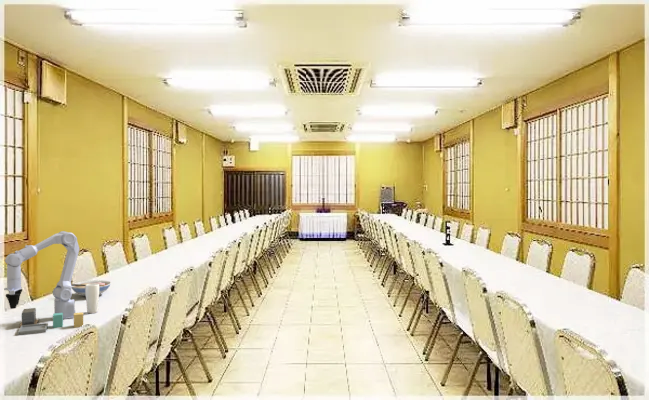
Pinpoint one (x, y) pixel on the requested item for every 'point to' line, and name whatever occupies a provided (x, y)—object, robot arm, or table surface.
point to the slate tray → (33, 328)
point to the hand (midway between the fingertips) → (14, 306)
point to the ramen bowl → (80, 286)
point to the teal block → (57, 320)
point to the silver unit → (29, 317)
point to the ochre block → (78, 319)
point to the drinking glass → (92, 297)
